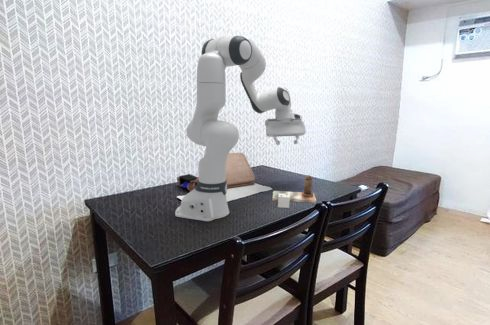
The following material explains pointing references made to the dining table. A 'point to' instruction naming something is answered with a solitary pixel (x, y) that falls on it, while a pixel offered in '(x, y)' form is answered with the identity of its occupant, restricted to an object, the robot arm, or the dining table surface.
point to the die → (283, 200)
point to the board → (294, 196)
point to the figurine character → (186, 181)
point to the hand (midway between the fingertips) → (287, 144)
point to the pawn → (307, 187)
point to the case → (238, 171)
